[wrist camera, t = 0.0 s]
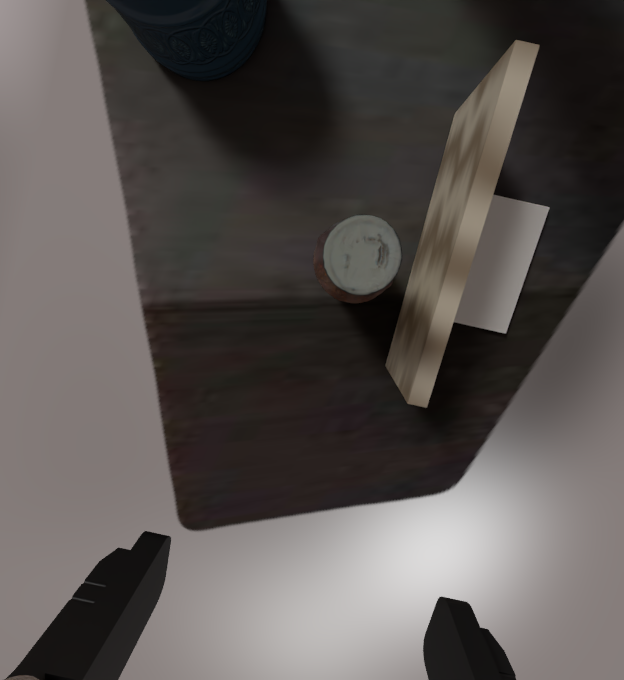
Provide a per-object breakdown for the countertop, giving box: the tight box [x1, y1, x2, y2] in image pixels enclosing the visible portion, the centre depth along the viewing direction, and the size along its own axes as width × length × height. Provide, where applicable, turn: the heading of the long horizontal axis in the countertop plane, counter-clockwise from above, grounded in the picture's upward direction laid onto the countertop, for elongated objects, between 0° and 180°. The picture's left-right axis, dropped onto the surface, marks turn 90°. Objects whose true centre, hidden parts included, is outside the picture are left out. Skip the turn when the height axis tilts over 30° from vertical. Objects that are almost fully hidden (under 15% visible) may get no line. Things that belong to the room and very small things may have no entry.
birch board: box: [385, 40, 540, 408], centre depth 31 cm, size 26×2×11 cm, turn 168°
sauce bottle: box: [313, 215, 402, 303], centre depth 27 cm, size 6×6×20 cm
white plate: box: [454, 195, 550, 334], centre depth 36 cm, size 13×8×1 cm, turn 168°
